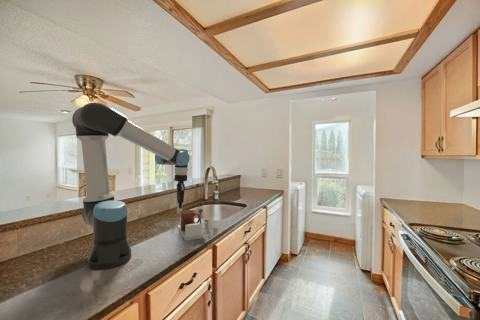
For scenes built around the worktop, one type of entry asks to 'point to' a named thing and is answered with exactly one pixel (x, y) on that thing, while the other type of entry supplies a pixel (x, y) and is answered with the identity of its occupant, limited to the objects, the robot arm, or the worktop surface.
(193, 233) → the vise
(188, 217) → the mug
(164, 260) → the worktop surface
